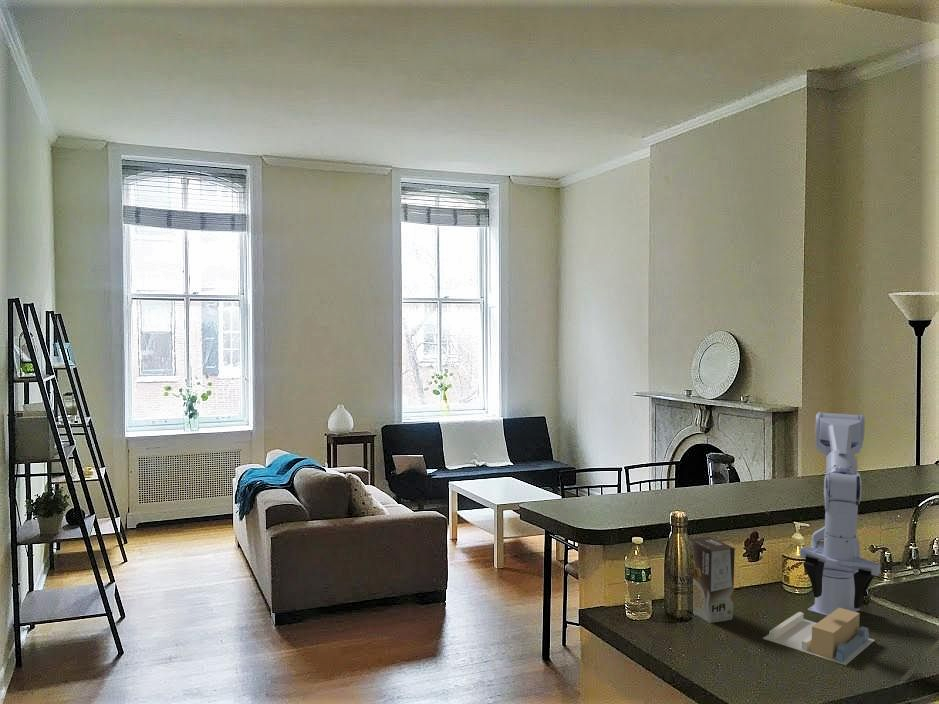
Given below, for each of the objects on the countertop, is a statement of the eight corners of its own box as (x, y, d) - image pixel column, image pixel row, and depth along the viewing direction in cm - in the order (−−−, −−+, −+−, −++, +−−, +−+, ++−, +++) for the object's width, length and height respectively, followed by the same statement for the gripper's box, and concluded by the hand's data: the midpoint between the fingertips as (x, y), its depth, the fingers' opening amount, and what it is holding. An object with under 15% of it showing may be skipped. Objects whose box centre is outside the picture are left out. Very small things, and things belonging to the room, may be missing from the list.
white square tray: (795, 619, 168) (796, 604, 168) (874, 642, 157) (875, 627, 157) (762, 641, 157) (763, 625, 157) (845, 668, 146) (846, 651, 146)
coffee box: (734, 621, 167) (737, 548, 166) (709, 625, 164) (712, 551, 164) (707, 606, 175) (709, 535, 174) (683, 609, 173) (685, 538, 172)
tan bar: (838, 631, 161) (839, 607, 161) (858, 637, 158) (859, 613, 158) (811, 651, 151) (812, 626, 151) (832, 658, 148) (833, 633, 148)
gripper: (795, 529, 156) (792, 596, 157) (872, 546, 146) (869, 617, 146) (809, 523, 161) (806, 587, 162) (885, 539, 150) (882, 607, 151)
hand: (837, 601), depth 154 cm, fingers open, 7 cm apart
